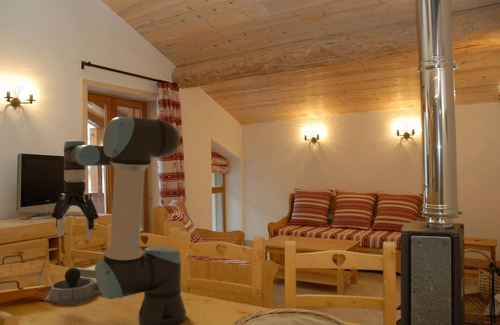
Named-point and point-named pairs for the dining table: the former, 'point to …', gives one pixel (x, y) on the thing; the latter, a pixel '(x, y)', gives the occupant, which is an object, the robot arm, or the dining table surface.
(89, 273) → the pale green square board
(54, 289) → the holder
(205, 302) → the dining table surface
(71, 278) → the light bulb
